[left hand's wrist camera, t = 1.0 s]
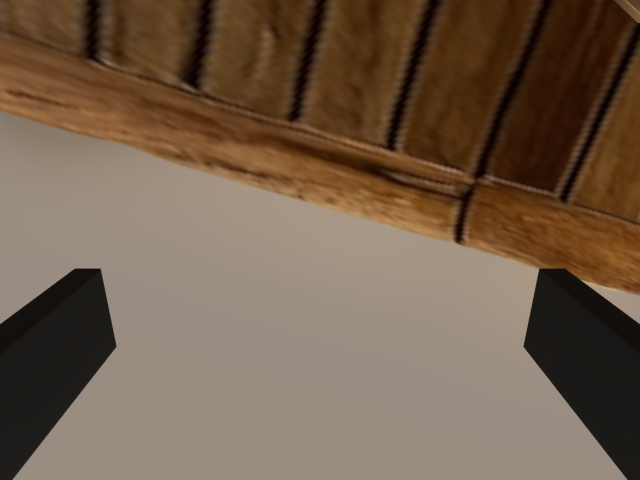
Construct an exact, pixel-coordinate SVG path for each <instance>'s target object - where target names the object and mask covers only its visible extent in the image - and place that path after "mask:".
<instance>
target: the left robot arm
mask: <svg viewBox="0 0 640 480" xmlns="http://www.w3.org/2000/svg"><path fill="white" fill-rule="evenodd" d="M115 348H116V342H115V337H114V332H113V327H112V322H111V317H110V313H109V307H108V303H107V298H106V293H105V288H104V283H103V278H102V273H101V269H74V270H72V271H71V272H70V273H69V274H67V275H66V276H64V277H63V278H62V279H60V280H59V281H58V282H56V283H55V284H54V285H52V286H51V287H50V288H48V289H47V290H46V291H44V292H43V293H42V294H40V295H39V296H37V297H36V298H35V299H33V300H32V301H31V302H30V303H28V304H27V305H25V306H24V307H23V308H21V309H20V310H19V311H17V312H16V313H15V314H13V315H12V316H11V317H9V318H8V319H7V320H5V321H4V322H3V323H1V324H0V480H13V478H14V477H15V476H16V474H17V473H18V472H19V471H20V469H21V468H22V467H23V466H24V464H25V463H26V462H27V460H28V459H29V458H30V457H31V455H32V454H33V453H34V452H35V450H36V449H37V448H38V446H39V445H40V444H41V443H42V441H43V440H44V439H45V437H46V436H47V435H48V434H49V432H50V431H51V430H52V428H53V427H54V426H55V425H56V423H57V422H58V421H59V420H60V418H61V417H62V416H63V414H64V413H65V412H66V411H67V409H68V408H69V407H70V405H71V404H72V403H73V402H74V400H75V399H76V398H77V397H78V395H79V394H80V393H81V391H82V390H83V389H84V388H85V386H86V385H87V384H88V382H89V381H90V380H91V379H92V377H93V376H94V375H95V374H96V372H97V371H98V370H99V368H100V367H101V366H102V365H103V363H104V362H105V361H106V359H107V358H108V357H109V356H110V354H111V353H112V352H113V350H114V349H115ZM524 348H525V349H526V350H527V352H528V353H529V354H530V356H531V357H532V358H533V359H534V361H535V362H536V363H537V365H538V366H539V367H540V368H541V370H542V371H543V372H544V373H545V375H546V376H547V377H548V379H549V380H550V381H551V382H552V384H553V385H554V386H555V388H556V389H557V390H558V391H559V393H560V394H561V395H562V397H563V398H564V399H565V400H566V402H567V403H568V404H569V405H570V407H571V408H572V409H573V411H574V412H575V413H576V414H577V416H578V417H579V418H580V419H581V421H582V422H583V423H584V425H585V426H586V427H587V428H588V430H589V431H590V432H591V434H592V435H593V436H594V437H595V439H596V440H597V441H598V442H599V444H600V445H601V446H602V448H603V449H604V450H605V452H606V453H607V454H608V455H609V457H610V458H611V459H612V460H613V462H614V463H615V464H616V466H617V467H618V468H619V469H620V471H621V472H622V473H623V475H624V476H625V477H626V478H627V480H640V324H639V323H637V322H636V321H635V320H633V319H632V318H631V317H629V316H628V315H627V314H625V313H624V312H623V311H621V310H620V309H619V308H617V307H616V306H615V305H613V304H612V303H611V302H609V301H608V300H606V299H605V298H604V297H603V296H601V295H600V294H598V293H597V292H596V291H594V290H593V289H592V288H590V287H589V286H588V285H586V284H585V283H584V282H582V281H581V280H580V279H578V278H577V277H576V276H574V275H573V274H572V273H570V272H569V271H568V270H566V269H539V273H538V278H537V283H536V288H535V293H534V298H533V303H532V307H531V312H530V317H529V322H528V327H527V332H526V337H525V342H524Z"/></svg>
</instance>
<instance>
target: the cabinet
mask: <svg viewBox="0 0 640 480" xmlns="http://www.w3.org/2000/svg"><path fill="white" fill-rule="evenodd" d="M614 1H615V2H616V3H618V4H619V5H620V6H621V7H622V8H623V9H624V10H625V11H626V12H627V13H628V14H629V15H630V16H631V17H632V18H633V19H634V20H636V21H637V22H638V23H640V0H614Z"/></svg>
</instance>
